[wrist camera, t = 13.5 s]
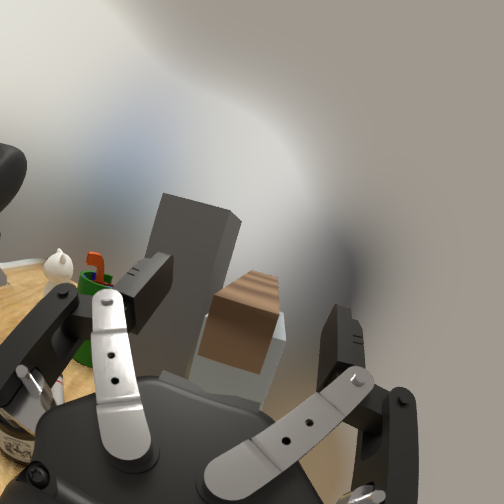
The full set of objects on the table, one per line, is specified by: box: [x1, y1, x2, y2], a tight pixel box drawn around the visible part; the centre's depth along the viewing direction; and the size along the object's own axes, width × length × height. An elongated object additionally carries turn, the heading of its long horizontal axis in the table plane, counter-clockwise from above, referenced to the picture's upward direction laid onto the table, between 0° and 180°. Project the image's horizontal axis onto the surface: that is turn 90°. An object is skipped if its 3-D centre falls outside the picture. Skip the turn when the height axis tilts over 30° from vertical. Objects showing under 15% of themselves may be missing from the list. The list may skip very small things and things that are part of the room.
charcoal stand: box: [128, 193, 242, 380], centre depth 41 cm, size 12×9×32 cm
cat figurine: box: [43, 248, 73, 298], centre depth 61 cm, size 9×12×15 cm
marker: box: [51, 373, 64, 405], centre depth 31 cm, size 15×2×2 cm, turn 35°
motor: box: [73, 252, 114, 367], centre depth 47 cm, size 10×9×20 cm
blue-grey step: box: [188, 312, 286, 411], centre depth 29 cm, size 12×7×22 cm, turn 176°
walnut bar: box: [197, 270, 280, 375], centre depth 27 cm, size 24×4×4 cm, turn 176°
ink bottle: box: [0, 398, 57, 466], centre depth 20 cm, size 10×9×12 cm
